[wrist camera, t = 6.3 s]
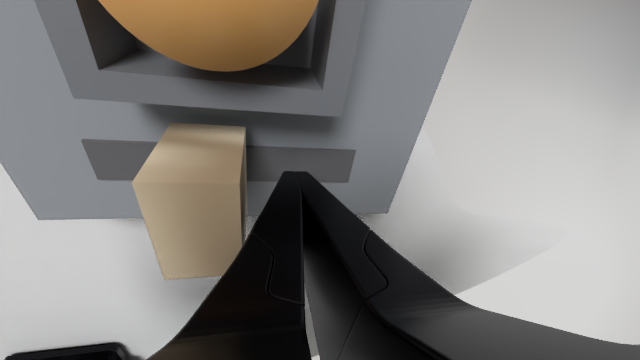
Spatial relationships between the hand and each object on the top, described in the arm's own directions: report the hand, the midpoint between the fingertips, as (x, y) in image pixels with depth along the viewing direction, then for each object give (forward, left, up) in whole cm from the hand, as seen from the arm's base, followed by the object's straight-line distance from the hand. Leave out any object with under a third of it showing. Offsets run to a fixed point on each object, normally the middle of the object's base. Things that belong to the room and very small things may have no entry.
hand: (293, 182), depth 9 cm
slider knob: (-2, 0, 0) cm, 3 cm away
